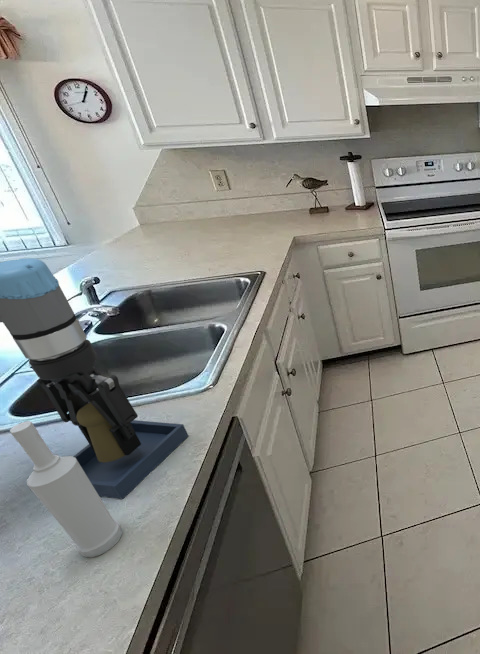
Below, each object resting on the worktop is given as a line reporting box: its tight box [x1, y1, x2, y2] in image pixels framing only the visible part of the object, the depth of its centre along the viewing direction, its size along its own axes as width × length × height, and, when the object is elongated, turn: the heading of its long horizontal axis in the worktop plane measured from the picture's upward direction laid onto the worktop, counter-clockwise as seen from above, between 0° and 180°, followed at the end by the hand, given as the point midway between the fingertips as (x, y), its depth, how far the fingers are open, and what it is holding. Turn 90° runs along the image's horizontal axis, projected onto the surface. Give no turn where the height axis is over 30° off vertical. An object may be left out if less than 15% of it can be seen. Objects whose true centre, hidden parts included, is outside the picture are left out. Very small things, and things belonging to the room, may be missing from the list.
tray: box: [72, 419, 189, 500], centre depth 80 cm, size 15×15×3 cm
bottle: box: [9, 420, 123, 558], centre depth 61 cm, size 5×5×25 cm
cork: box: [76, 402, 125, 462], centre depth 77 cm, size 6×6×11 cm
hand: (118, 447), depth 79 cm, fingers closed on cork, 6 cm apart
